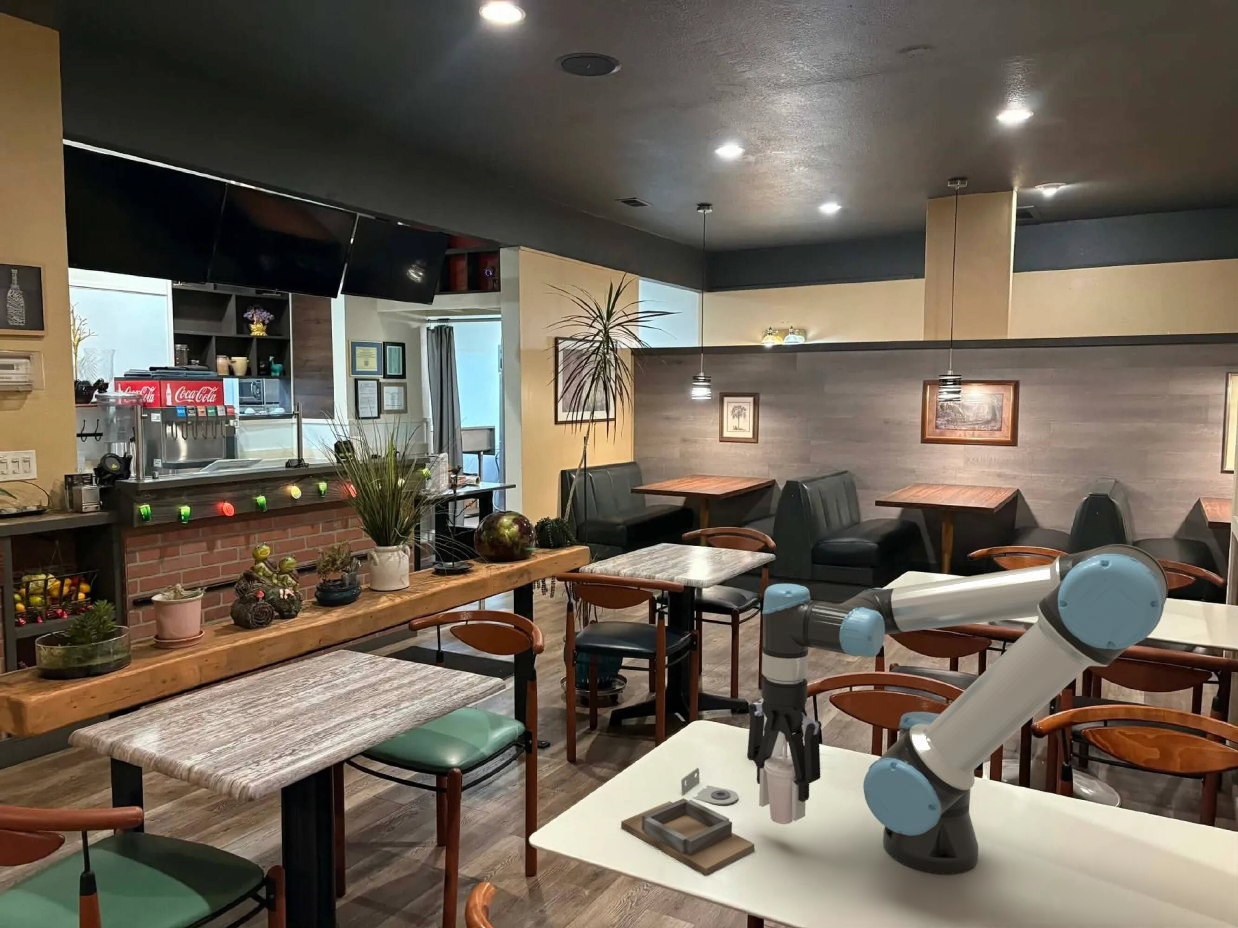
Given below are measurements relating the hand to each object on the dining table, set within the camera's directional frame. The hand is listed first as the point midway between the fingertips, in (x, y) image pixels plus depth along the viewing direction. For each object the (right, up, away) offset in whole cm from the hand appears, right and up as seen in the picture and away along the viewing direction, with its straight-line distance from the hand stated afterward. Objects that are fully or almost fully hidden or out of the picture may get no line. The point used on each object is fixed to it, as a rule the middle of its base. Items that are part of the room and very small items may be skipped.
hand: (781, 810), depth 152 cm
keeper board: (-16, -6, +2) cm, 17 cm away
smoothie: (0, -2, 0) cm, 2 cm away
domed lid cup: (+4, -3, +35) cm, 35 cm away
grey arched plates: (-10, -5, +19) cm, 22 cm away
